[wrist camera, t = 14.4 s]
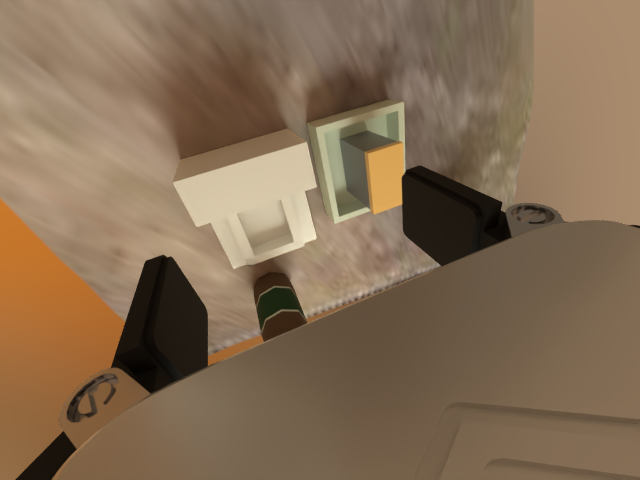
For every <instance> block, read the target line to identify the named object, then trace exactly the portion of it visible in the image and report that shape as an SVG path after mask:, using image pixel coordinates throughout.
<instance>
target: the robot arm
mask: <svg viewBox="0 0 640 480" xmlns="http://www.w3.org/2000/svg"><path fill="white" fill-rule="evenodd" d="M501 207H502V202H501V201H498V200H496V199H494V198H492V197H489V196H487V195H485V194H483V193H481V192H478V191H476V190H474V189H472V188H469V187H467V186H465V185H463V184H460V183H458V182H456V181H454V180H452V179H449V178H447V177H445V176H443V175H440V174H438V173H436V172H434V171H431V170H429V169H427V168H425V167H423V166H417V167H414V168H411V169H408V170H406V171H405V173H404V175H403V176H402V212H403V231H404V234H405V235H406V236H407V237H408V238H409V239H410V240H411V241H412V242H414V243H415V244H416V245H417V246H418V247H420V248H421V249H422V250H423V251H424V252H426V253H427V254H428V255H429V256H430V257H431V258H433V259H434V260H435V261H436V262H437V263H439V264H440V265H441V267H439V268H436V269H434V270H432V271H429V272H427V273H425V274H422V275H420V276H417V277H415V278H413V279H410V280H408V281H406V282H403V283H401V284H398V285H396V286H394V287H391V288H389V289H387V290H384V291H382V292H380V293H377V294H375V295H372V296H370V297H368V298H365V299H363V300H361V301H358V302H356V303H354V304H351V305H349V306H347V307H344V308H342V309H340V310H337V311H335V312H333V313H330V314H328V315H325V316H323V317H321V318H318V319H316V320H314V321H311V322H309V323H307V324H305V325H302V326H300V327H298V328H295V329H293V330H291V331H288V332H286V333H284V334H281V335H279V336H277V337H274V338H272V339H270V340H267V341H265V342H263V343H260V344H258V345H256V346H253V347H251V348H249V349H246V350H244V351H242V352H240V353H237V354H235V355H233V356H230V357H228V358H226V359H223V360H221V361H219V362H216V363H214V364H212V365H210V366H208V314H207V310H206V307H205V305H204V304H203V302H202V301H201V299H200V298H199V296H198V295H197V293H196V292H195V290H194V289H193V287H192V286H191V284H190V283H189V281H188V280H187V278H186V277H185V275H184V274H183V272H182V271H181V269H180V268H179V266H178V265H177V263H176V262H175V260H174V259H173V258H172V257H168V258H167V257H166V256H165V255H161V256H158V257H156V258H153V259H150V260H147V261H146V262H145V264H144V267H143V270H142V273H141V276H140V279H139V282H138V285H137V289H136V292H135V295H134V298H133V301H132V304H131V307H130V310H129V313H128V316H127V319H126V322H125V325H124V329H123V332H122V335H121V338H120V341H119V344H118V347H117V350H116V353H115V357H114V360H113V363H112V366H111V368H108V369H105V370H102V371H100V372H98V373H96V374H94V375H92V376H91V377H89V378H88V379H87V380H85V381H84V382H83V383H82V384H81V385H79V386H78V387H77V389H76V390H74V392H73V393H72V394H71V395H70V396H69V398H68V399H67V400H66V402H65V404H64V406H63V408H62V410H61V412H60V416H59V423H60V427H61V428H62V429H63V432H62V433H61V434H60V435H59V436H58V437H57V438H56V439H55V440H54V441H53V442H52V443H51V444H50V445H49V446H48V447H47V448H46V449H45V450H44V451H43V452H42V453H41V454H40V455H39V456H38V457H37V458H36V459H35V460H34V461H33V462H32V463H31V464H30V465H29V466H28V467H27V469H25V470H24V472H22V474H20V476H19V477H18V478H17V479H16V480H640V226H637V225H626V224H622V223H618V222H612V221H604V220H601V221H600V220H589V221H575V222H564V221H563V219H562V217H561V215H560V214H559V213H558V211H556V210H555V209H553V208H551V207H548V206H545V205H541V204H535V203H520V204H516V205H512V206H510V207H509V208H508V209H507V210H506V213H505V212H503V211H501Z"/></svg>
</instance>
